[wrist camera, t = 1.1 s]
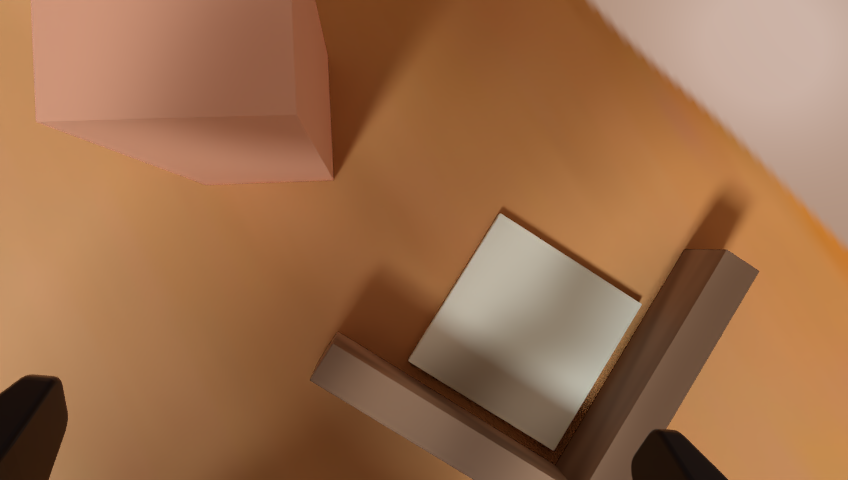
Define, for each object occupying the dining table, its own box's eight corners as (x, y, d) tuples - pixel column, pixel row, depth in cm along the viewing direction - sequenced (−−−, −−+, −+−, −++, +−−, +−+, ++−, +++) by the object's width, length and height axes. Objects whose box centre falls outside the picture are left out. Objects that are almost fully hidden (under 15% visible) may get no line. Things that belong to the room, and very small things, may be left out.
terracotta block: (205, 185, 24) (36, 122, 12) (199, 53, 24) (24, -145, 12) (333, 180, 24) (296, 114, 12) (327, 50, 24) (284, -143, 12)
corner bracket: (317, 363, 24) (309, 380, 21) (476, 112, 25) (490, 93, 22) (566, 515, 25) (593, 552, 22) (713, 268, 25) (759, 271, 22)
